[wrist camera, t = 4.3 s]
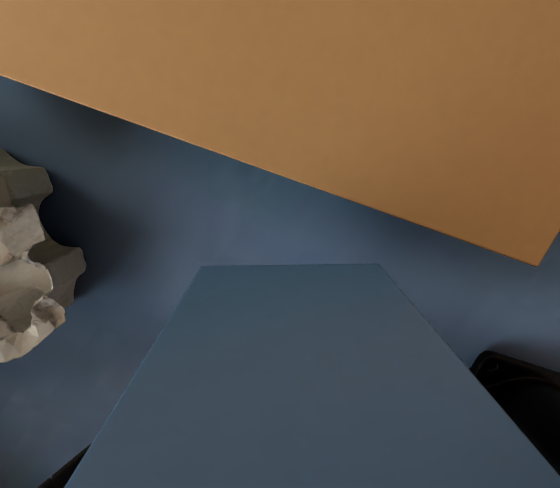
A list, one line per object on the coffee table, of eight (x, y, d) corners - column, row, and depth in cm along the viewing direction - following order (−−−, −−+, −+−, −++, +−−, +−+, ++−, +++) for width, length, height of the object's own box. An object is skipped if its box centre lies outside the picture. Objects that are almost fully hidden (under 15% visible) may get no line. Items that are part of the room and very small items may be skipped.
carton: (379, 263, 10) (1215, 1233, 1) (367, 409, 11) (684, 1326, 3) (201, 265, 10) (-438, 1280, 1) (212, 412, 11) (-14, 1353, 3)
